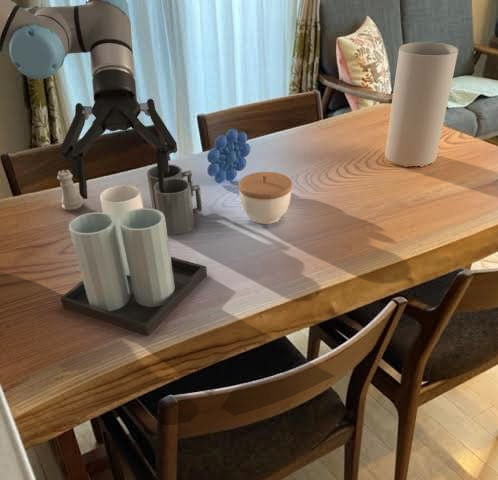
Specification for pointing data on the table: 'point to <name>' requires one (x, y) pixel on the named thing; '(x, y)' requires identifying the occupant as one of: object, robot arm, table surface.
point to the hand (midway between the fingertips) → (123, 193)
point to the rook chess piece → (68, 192)
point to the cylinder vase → (419, 102)
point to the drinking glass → (121, 207)
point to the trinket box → (265, 196)
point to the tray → (132, 312)
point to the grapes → (228, 156)
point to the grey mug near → (177, 205)
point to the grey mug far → (173, 173)
